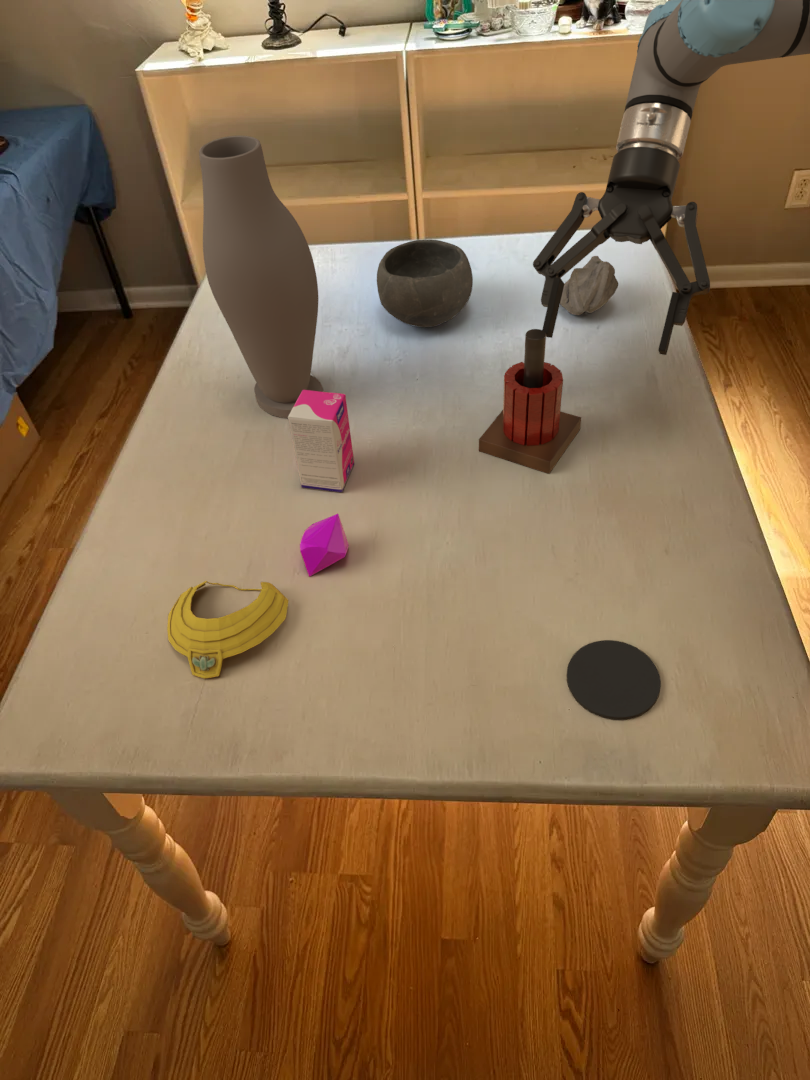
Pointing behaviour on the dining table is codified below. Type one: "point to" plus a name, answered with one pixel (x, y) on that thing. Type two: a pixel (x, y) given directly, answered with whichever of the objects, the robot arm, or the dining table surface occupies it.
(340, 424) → the supplement box
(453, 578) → the dining table surface
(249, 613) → the necklace
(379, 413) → the dining table surface
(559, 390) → the ring
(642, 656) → the mat
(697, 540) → the dining table surface
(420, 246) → the bowl
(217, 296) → the vase
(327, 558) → the crystal
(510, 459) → the ring holder
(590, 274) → the fossil
